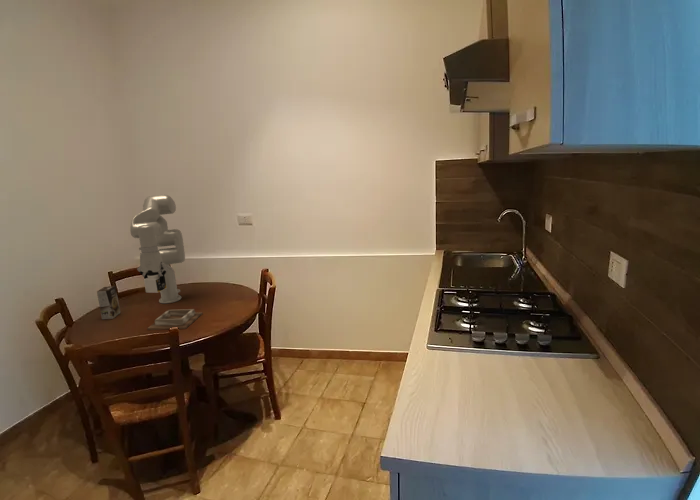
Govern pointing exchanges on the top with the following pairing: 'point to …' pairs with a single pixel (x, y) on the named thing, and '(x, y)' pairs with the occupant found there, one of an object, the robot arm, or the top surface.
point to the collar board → (175, 319)
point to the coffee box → (108, 302)
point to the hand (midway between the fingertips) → (155, 283)
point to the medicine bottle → (153, 283)
